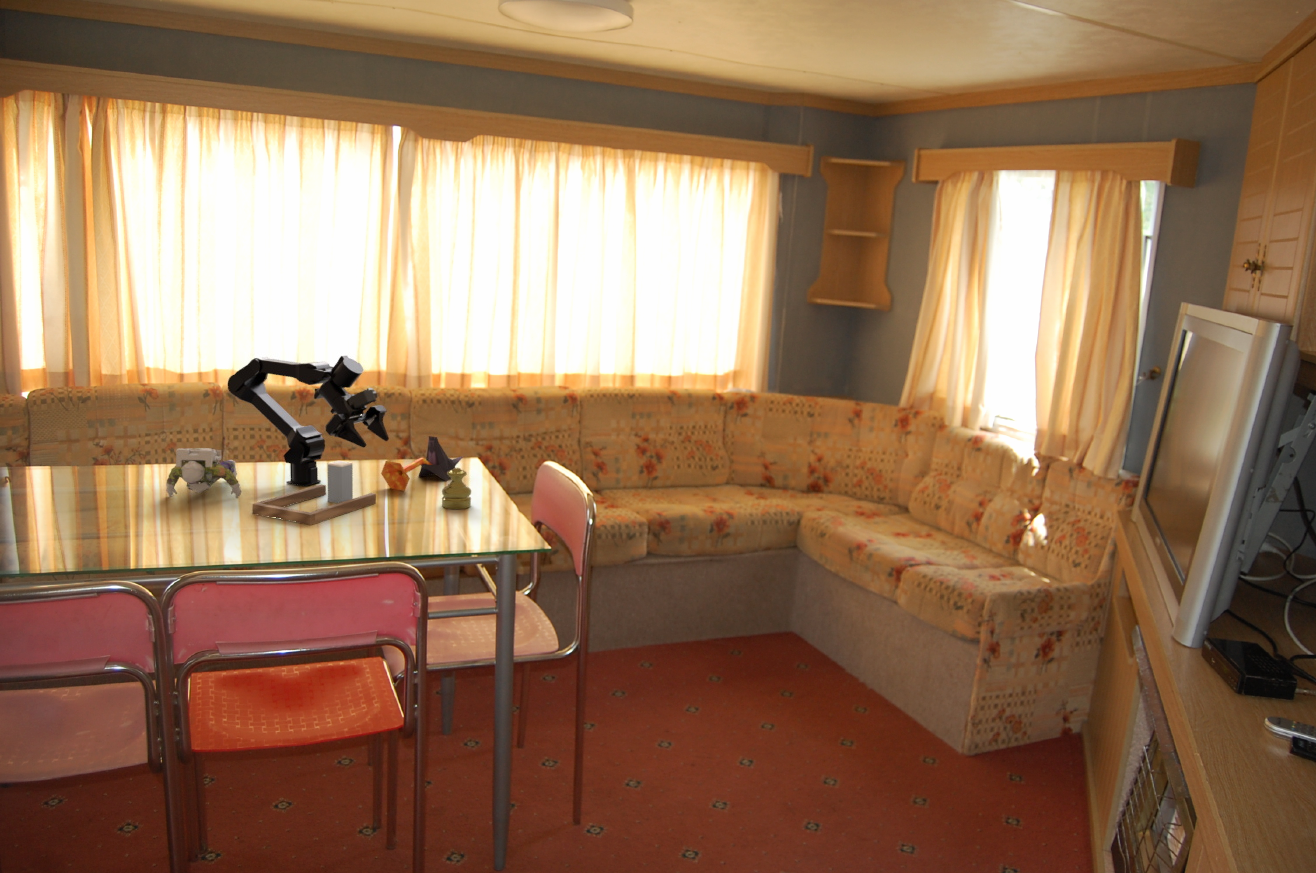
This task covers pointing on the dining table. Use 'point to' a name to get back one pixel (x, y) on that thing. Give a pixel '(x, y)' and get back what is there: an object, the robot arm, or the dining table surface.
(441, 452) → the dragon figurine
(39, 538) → the dining table surface
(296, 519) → the rail pen
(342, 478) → the long block
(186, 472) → the toy
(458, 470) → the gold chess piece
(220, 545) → the dining table surface
